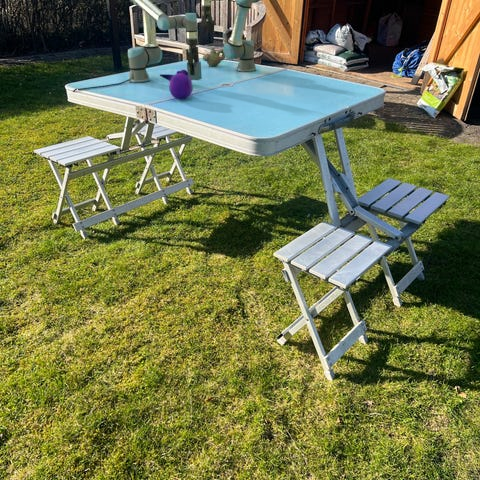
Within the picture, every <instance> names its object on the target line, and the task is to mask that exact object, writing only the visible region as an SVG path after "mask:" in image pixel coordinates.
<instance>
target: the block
mask: <svg viewBox="0 0 480 480" xmlns="http://www.w3.org/2000/svg"><path fill="white" fill-rule="evenodd" d="M193 65H194V75H190V65H188V61H187V62H186V71H187V72H188V77H189V78H190V79H191V81H200V80H202V79H203V78H202V77H203V76H202V62H201V61H199V62H197V61H194V60H193Z"/></svg>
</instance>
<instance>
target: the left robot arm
mask: <svg viewBox="0 0 480 480" xmlns="http://www.w3.org/2000/svg"><path fill="white" fill-rule="evenodd" d="M129 1H130V3H132V4H133V5H134V6H137V7H139V8H140V9H141V11H142V24H143V35H144V36H143V38H144V43H143V44H142V46H133V47H131V48H129V49H127V57H128V66H129V76H128V79H127V80H123V81H122V82H118V83H111V84H105V85H104V84H103V85H96V86H87V87H81V88H75V89H73V90H72V93H75V92H76V91H83V90H91V89H98V88H105V87H111V86H112V87H113V86H118V85H123V84H125V83H127V82H129V83H133V84H141V83H148V82H150V75H149V74H148V71H147V67H146V66H148V65H149V66H150V65H155V64H158V63H160V62H161V61H162V60H163V51H162V48H161V47H160V45H159V44H158V42H157V32H156V31H157V30H156V25H157V27H158V29H159V30H160V31H169V30H177V29H185V35H186V37H185V38H186V45H187V46H188V49H186V51H187V62H188V65H190V75H194V65H193V61H197V62H200V58H199V57H200V56H199V46H198V45H199V39H198V38H199V37H198V35H199V32H198V18H197V14H196V13H195V12H186V13H185V14H184V15H174V16H169V15H167V14H166V13H164V12H163V11H162V10H161V9H160V8H159V7H158V6H157V1H158V0H129ZM77 89H78V90H77ZM77 131H79V129H77Z"/></svg>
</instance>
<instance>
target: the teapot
mask: <svg viewBox="0 0 480 480" xmlns="http://www.w3.org/2000/svg"><path fill="white" fill-rule="evenodd" d="M220 55H221V56H220ZM225 59H226V57H225V55H224V52H223V48H222V49H219V50H218V51H217V50H216V49H215V47H211V50H210V51H209V53H205V54H203V56H202V60H203V61H204V62H206V63H207V65H208V66H209V67H217V66H218V65H220V64H221V62H223V61H224V60H225Z"/></svg>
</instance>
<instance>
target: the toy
mask: <svg viewBox="0 0 480 480" xmlns="http://www.w3.org/2000/svg"><path fill="white" fill-rule="evenodd" d="M159 76H160V77H161V78H163V79H165V80H167V81H169V84H168V88H169V92H170V95H171V96H172V97H173V98H174V99H177V100H186V99H188V98H189V97H190V95H191V94H192V93H193V91H194V85H193V80H191V79H190V78H189V77H188V72H187V69H181V70H177V71H176V73H175V74H168V73H167V74H165V73H163V74H162V73H161V74H159Z"/></svg>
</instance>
